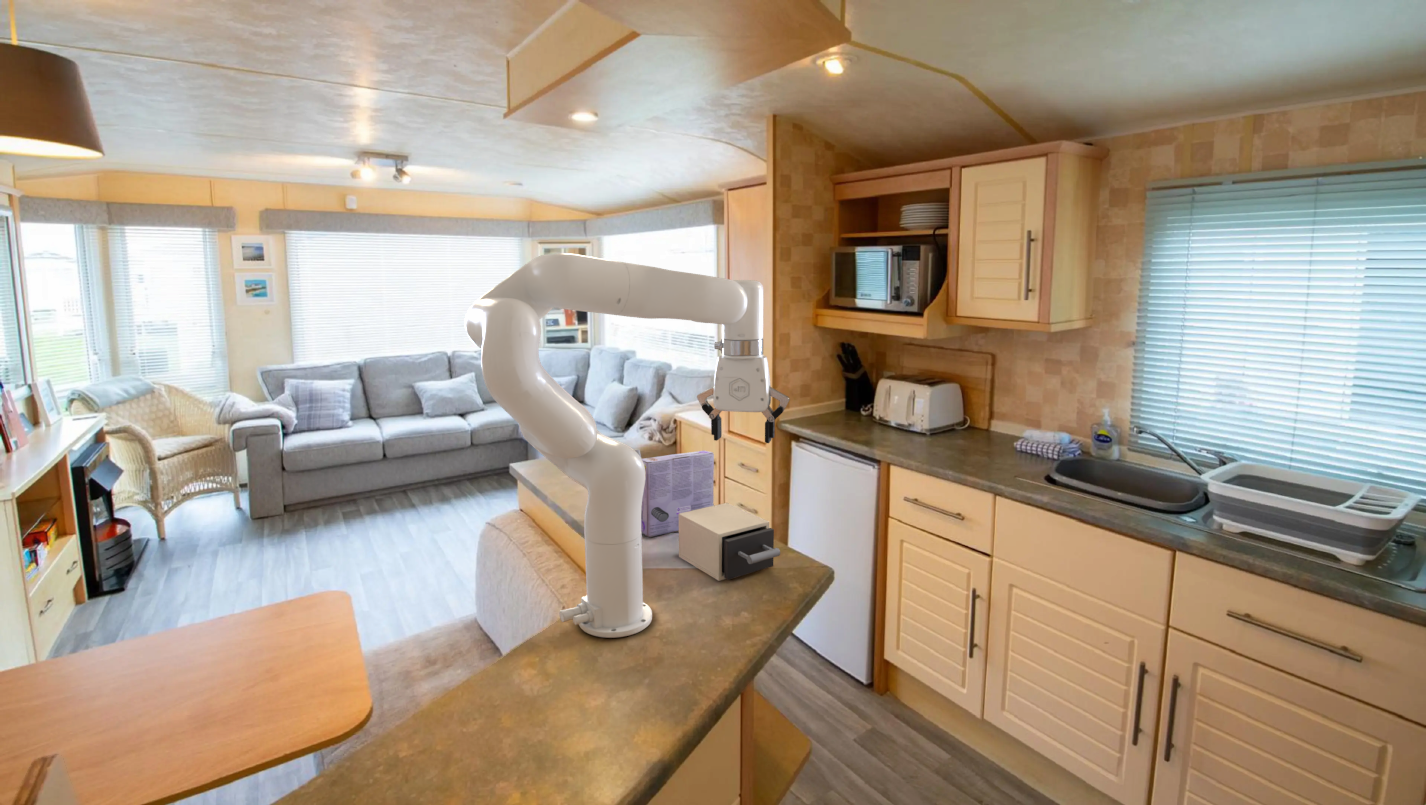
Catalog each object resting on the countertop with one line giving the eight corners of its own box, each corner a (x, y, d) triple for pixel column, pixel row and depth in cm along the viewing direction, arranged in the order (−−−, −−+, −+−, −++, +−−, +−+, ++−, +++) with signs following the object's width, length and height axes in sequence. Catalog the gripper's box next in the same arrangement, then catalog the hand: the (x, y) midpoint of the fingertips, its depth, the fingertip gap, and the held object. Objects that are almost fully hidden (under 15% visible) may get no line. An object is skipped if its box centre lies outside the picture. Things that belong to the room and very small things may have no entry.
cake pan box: (707, 516, 172) (707, 447, 168) (718, 522, 167) (718, 451, 164) (637, 532, 161) (636, 458, 158) (648, 539, 157) (646, 463, 154)
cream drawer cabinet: (768, 565, 143) (769, 521, 141) (718, 580, 135) (718, 534, 134) (726, 543, 154) (727, 502, 153) (678, 556, 147) (678, 513, 146)
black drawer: (788, 573, 137) (789, 536, 135) (742, 588, 130) (742, 549, 129) (733, 545, 151) (733, 510, 150) (689, 557, 145) (689, 521, 143)
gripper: (691, 350, 125) (692, 442, 128) (786, 352, 121) (785, 447, 124) (702, 345, 132) (703, 433, 135) (792, 347, 128) (791, 438, 131)
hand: (742, 440), depth 130 cm, fingers open, 9 cm apart
